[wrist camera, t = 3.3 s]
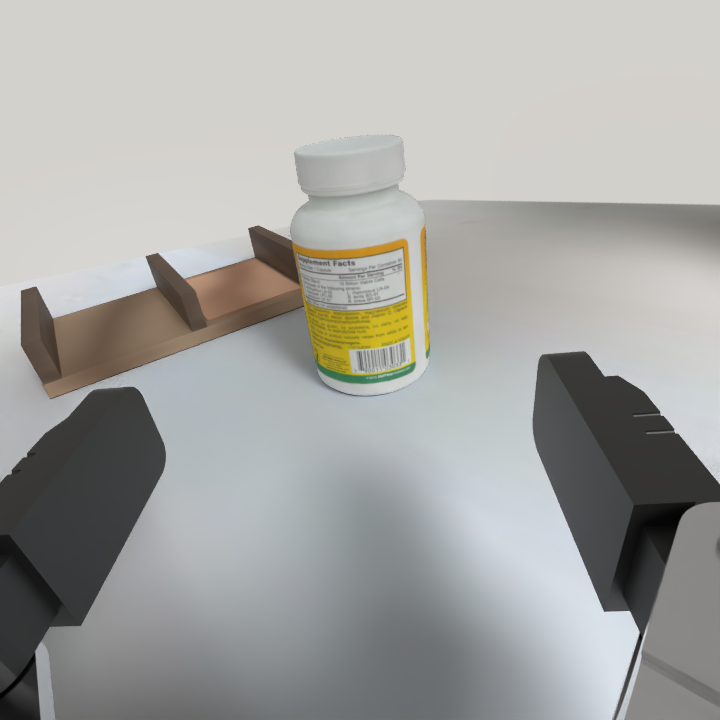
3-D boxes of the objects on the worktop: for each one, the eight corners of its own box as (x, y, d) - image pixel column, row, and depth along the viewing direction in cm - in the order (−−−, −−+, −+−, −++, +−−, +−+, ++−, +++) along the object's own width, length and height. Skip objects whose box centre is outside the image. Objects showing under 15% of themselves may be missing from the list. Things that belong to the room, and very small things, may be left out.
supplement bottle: (386, 414, 19) (357, 158, 14) (293, 378, 22) (242, 158, 17) (452, 352, 22) (449, 128, 17) (364, 328, 25) (339, 132, 20)
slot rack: (348, 239, 39) (343, 202, 37) (416, 264, 32) (413, 220, 31) (44, 334, 29) (20, 290, 28) (50, 398, 23) (19, 345, 21)
